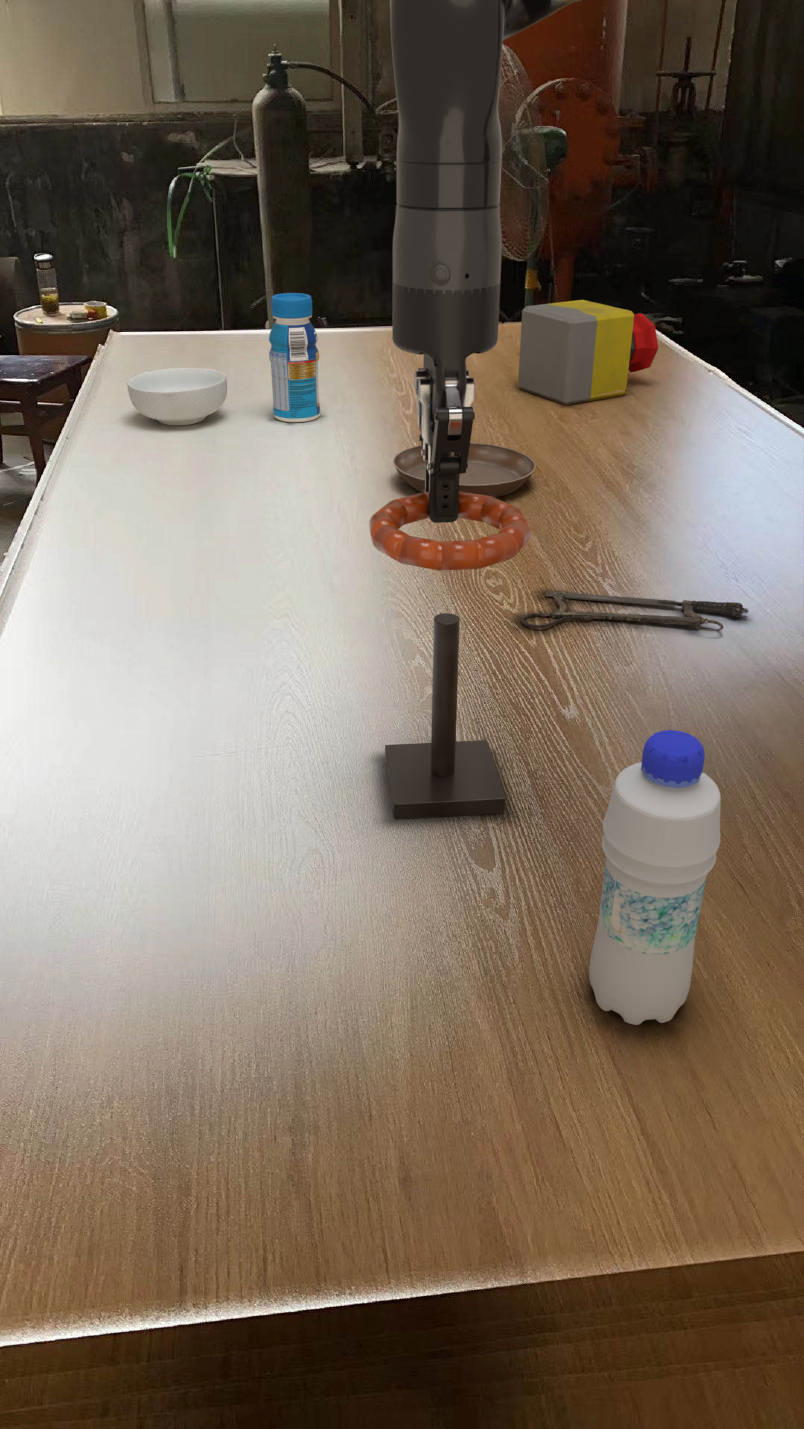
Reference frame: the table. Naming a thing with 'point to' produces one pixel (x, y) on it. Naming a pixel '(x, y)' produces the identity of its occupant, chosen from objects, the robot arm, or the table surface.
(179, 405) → the cereal bowl
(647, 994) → the bottle
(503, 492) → the plant saucer
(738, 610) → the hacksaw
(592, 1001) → the table surface
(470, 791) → the stand
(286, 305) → the beverage bottle
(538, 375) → the emergency stop button
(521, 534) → the ring
